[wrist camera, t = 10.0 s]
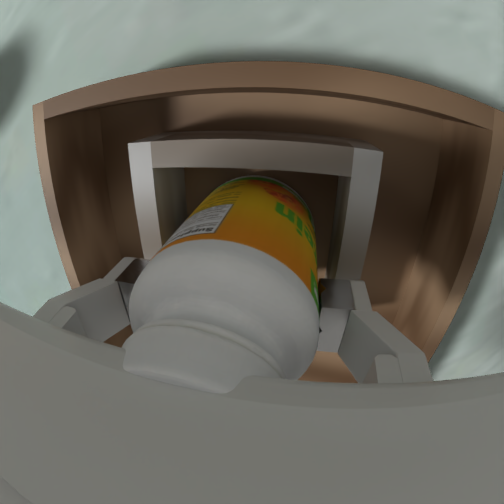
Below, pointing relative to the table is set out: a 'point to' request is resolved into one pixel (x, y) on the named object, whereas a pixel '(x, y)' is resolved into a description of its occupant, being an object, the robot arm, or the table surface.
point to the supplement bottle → (230, 292)
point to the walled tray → (282, 175)
